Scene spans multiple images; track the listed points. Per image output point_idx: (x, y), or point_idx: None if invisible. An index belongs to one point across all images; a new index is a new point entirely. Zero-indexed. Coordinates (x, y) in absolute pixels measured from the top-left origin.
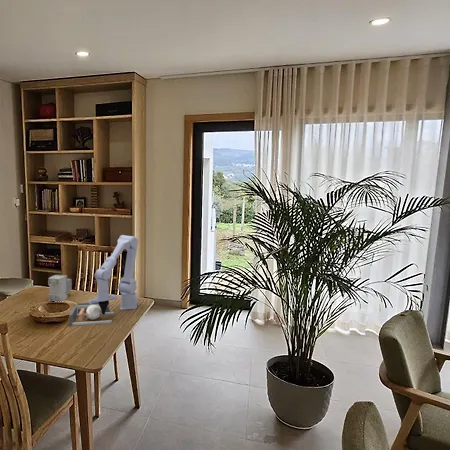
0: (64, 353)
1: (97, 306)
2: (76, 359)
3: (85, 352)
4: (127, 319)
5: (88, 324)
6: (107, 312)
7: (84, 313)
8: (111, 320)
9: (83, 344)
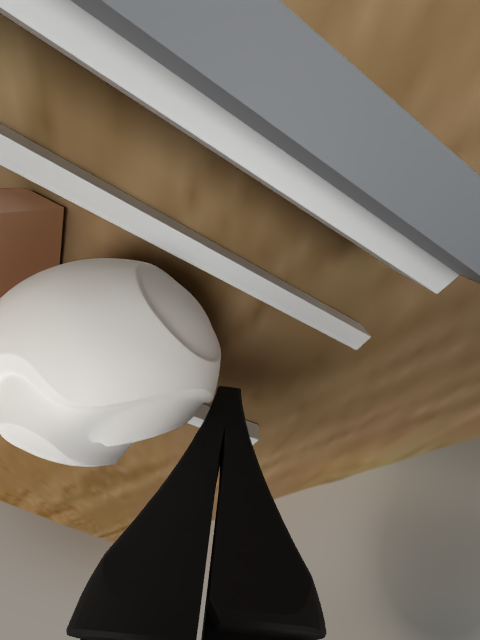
0: (29, 494)
1: (153, 399)
2: (73, 519)
3: (97, 513)
4: (355, 442)
5: None
6: (312, 310)
7: (17, 228)
8: (253, 441)
9: (88, 489)
